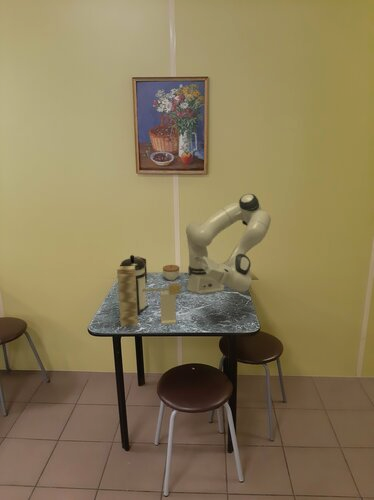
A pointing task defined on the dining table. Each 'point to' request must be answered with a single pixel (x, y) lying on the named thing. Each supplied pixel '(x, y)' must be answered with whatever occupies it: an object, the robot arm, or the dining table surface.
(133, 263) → the coffee press
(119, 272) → the birch bearing block
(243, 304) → the dining table surface
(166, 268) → the lidded jar
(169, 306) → the cream rest post
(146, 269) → the supplement box
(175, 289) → the beige mallet
